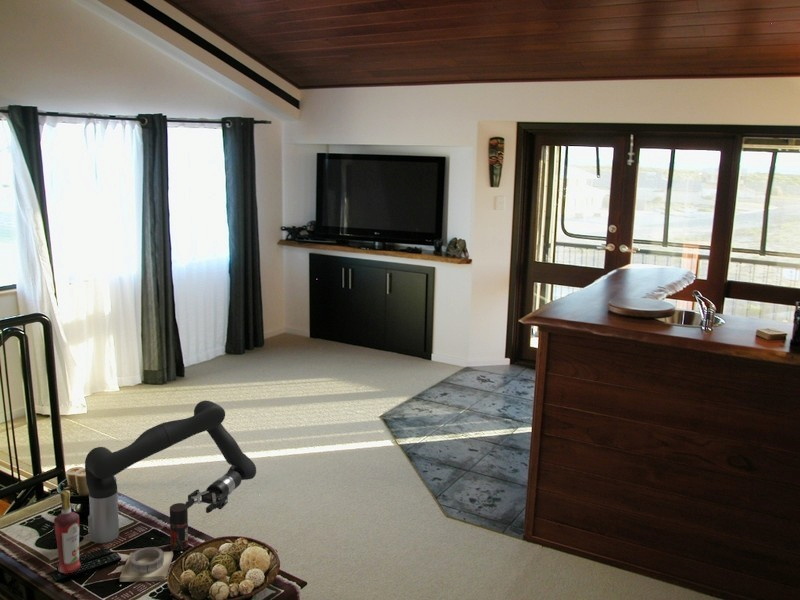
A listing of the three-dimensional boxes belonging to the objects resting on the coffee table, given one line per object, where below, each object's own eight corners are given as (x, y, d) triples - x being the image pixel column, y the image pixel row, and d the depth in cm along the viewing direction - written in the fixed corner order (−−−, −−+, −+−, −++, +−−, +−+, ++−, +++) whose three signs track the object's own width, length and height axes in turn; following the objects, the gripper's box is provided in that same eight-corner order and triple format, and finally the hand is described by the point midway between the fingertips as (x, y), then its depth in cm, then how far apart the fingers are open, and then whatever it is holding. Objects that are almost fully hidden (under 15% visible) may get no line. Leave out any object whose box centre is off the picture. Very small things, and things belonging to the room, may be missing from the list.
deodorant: (172, 541, 247) (171, 503, 244) (189, 541, 248) (189, 503, 245) (168, 550, 242) (167, 511, 239) (186, 550, 242) (185, 511, 239)
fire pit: (119, 581, 224) (119, 569, 223) (130, 556, 237) (130, 544, 236) (164, 580, 225) (164, 567, 224) (173, 555, 239) (172, 543, 238)
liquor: (72, 561, 233) (68, 484, 227) (86, 568, 229) (82, 491, 224) (52, 571, 227) (47, 493, 221) (66, 579, 223) (61, 500, 217)
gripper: (205, 476, 269) (179, 495, 254) (237, 483, 265) (213, 502, 250) (205, 494, 271) (180, 513, 256) (237, 501, 267) (213, 521, 252)
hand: (196, 508), depth 253 cm, fingers open, 8 cm apart
